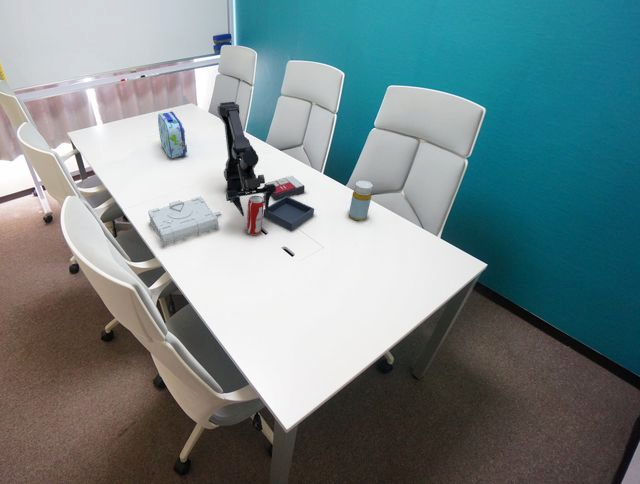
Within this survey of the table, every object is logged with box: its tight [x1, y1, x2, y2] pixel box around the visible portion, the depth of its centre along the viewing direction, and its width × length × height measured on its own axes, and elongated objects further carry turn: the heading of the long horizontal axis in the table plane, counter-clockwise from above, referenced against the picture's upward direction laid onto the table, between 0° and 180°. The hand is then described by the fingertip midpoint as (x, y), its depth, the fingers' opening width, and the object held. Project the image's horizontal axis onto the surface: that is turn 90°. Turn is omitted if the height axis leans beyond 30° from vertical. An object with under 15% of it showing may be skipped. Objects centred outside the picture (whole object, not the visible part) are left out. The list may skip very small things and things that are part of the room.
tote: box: [263, 196, 315, 232], centre depth 141 cm, size 15×15×4 cm
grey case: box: [147, 195, 222, 246], centre depth 137 cm, size 19×28×8 cm
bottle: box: [348, 180, 374, 222], centre depth 137 cm, size 7×7×15 cm
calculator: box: [263, 175, 305, 201], centre depth 157 cm, size 11×4×15 cm
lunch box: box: [157, 110, 188, 159], centre depth 192 cm, size 26×11×21 cm, turn 23°
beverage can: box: [245, 194, 265, 236], centre depth 130 cm, size 6×6×15 cm
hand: (255, 214), depth 129 cm, fingers open, 9 cm apart
